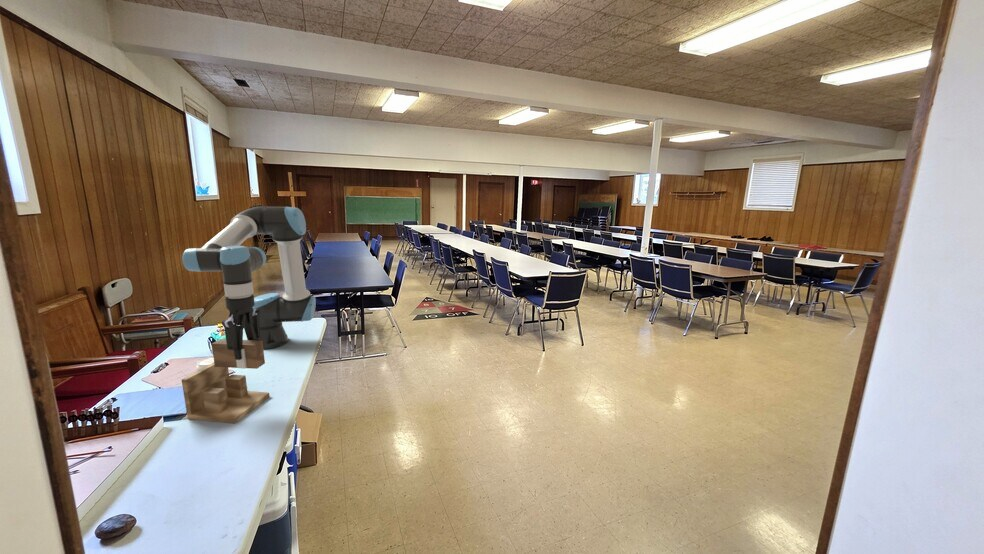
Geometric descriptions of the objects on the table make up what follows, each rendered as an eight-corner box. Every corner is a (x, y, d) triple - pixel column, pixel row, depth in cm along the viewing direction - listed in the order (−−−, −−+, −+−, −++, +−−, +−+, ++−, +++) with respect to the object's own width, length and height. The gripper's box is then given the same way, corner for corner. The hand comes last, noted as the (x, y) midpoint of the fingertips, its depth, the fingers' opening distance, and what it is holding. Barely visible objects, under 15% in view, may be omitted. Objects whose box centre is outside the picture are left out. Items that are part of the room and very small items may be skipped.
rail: (223, 361, 126) (220, 338, 124) (264, 363, 125) (262, 340, 124) (214, 366, 122) (211, 343, 120) (257, 368, 121) (254, 345, 120)
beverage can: (213, 398, 130) (209, 366, 128) (194, 395, 132) (189, 364, 129) (233, 387, 138) (229, 357, 136) (215, 384, 140) (211, 354, 137)
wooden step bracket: (227, 392, 135) (222, 357, 132) (269, 396, 133) (265, 361, 130) (187, 418, 119) (181, 379, 116) (234, 423, 118) (229, 383, 115)
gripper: (248, 288, 127) (255, 353, 132) (205, 302, 110) (215, 375, 115) (269, 289, 126) (275, 354, 131) (229, 303, 110) (238, 377, 115)
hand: (247, 364), depth 123 cm, fingers closed on rail, 4 cm apart
